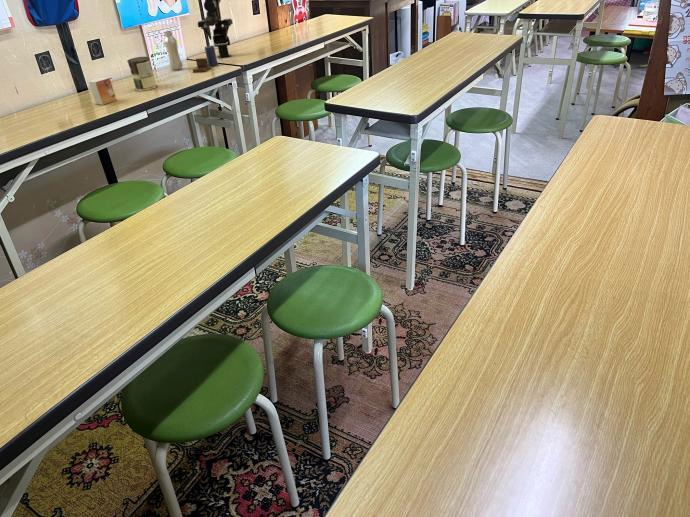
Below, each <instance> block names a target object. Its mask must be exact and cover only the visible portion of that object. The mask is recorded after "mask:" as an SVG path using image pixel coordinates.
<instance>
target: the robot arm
mask: <svg viewBox="0 0 690 517" xmlns="http://www.w3.org/2000/svg"><path fill="white" fill-rule="evenodd" d="M221 1H222V0H204V2H203V8H204V10H205V11H206V17H205V18H204V19H202V20H199V21H198V22H197V27H198V28H200V29H201V30H203V31H204V32H205V34H206V35H207V37H208V39H209V40H210V41H211V40H212V42H213V46H214V48H216V47H217V51H218V55H217V57H218V58H220V59H224V58H229V57H232V54H230V52H229V48H228V47H229V46H231V41H230V37H229V34H228V33H229V30H230V27H231V25H233V24H234V23H233V19H232V18H224V19H222V15H221V8H220V3H221ZM213 26H214V28H213V30H212V33H211V27H213ZM212 34H213V35H212Z"/></svg>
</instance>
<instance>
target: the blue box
mask: <svg viewBox="0 0 690 517" xmlns="http://www.w3.org/2000/svg"><path fill="white" fill-rule="evenodd" d="M204 52H205V55H206V56H205V57H206V58H207V62H208V65H211V68H213V67H217V66H218V65H219V63H218V58H217V54H216V49H215V45H208V46H204Z"/></svg>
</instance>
